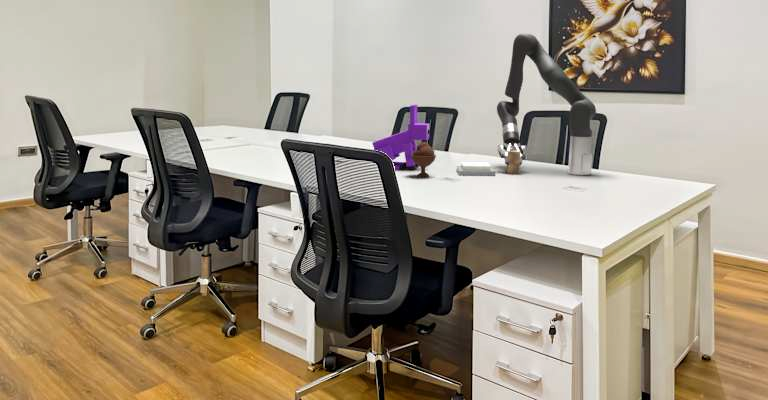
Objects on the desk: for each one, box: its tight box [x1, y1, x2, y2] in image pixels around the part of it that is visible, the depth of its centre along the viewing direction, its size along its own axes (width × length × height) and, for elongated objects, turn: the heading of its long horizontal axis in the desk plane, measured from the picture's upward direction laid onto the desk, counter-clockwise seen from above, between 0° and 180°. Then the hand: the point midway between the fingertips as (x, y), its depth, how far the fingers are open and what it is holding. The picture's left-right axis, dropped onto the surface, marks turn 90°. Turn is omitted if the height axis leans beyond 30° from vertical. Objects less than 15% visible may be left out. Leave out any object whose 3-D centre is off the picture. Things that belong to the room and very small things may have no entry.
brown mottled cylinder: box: [506, 150, 521, 175], centre depth 291 cm, size 5×5×10 cm
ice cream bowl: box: [411, 141, 437, 178], centre depth 281 cm, size 11×11×15 cm
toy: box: [372, 104, 431, 171], centre depth 303 cm, size 14×28×30 cm, turn 77°
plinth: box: [456, 161, 496, 177], centre depth 292 cm, size 16×16×4 cm
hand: (514, 164), depth 290 cm, fingers closed on brown mottled cylinder, 5 cm apart
